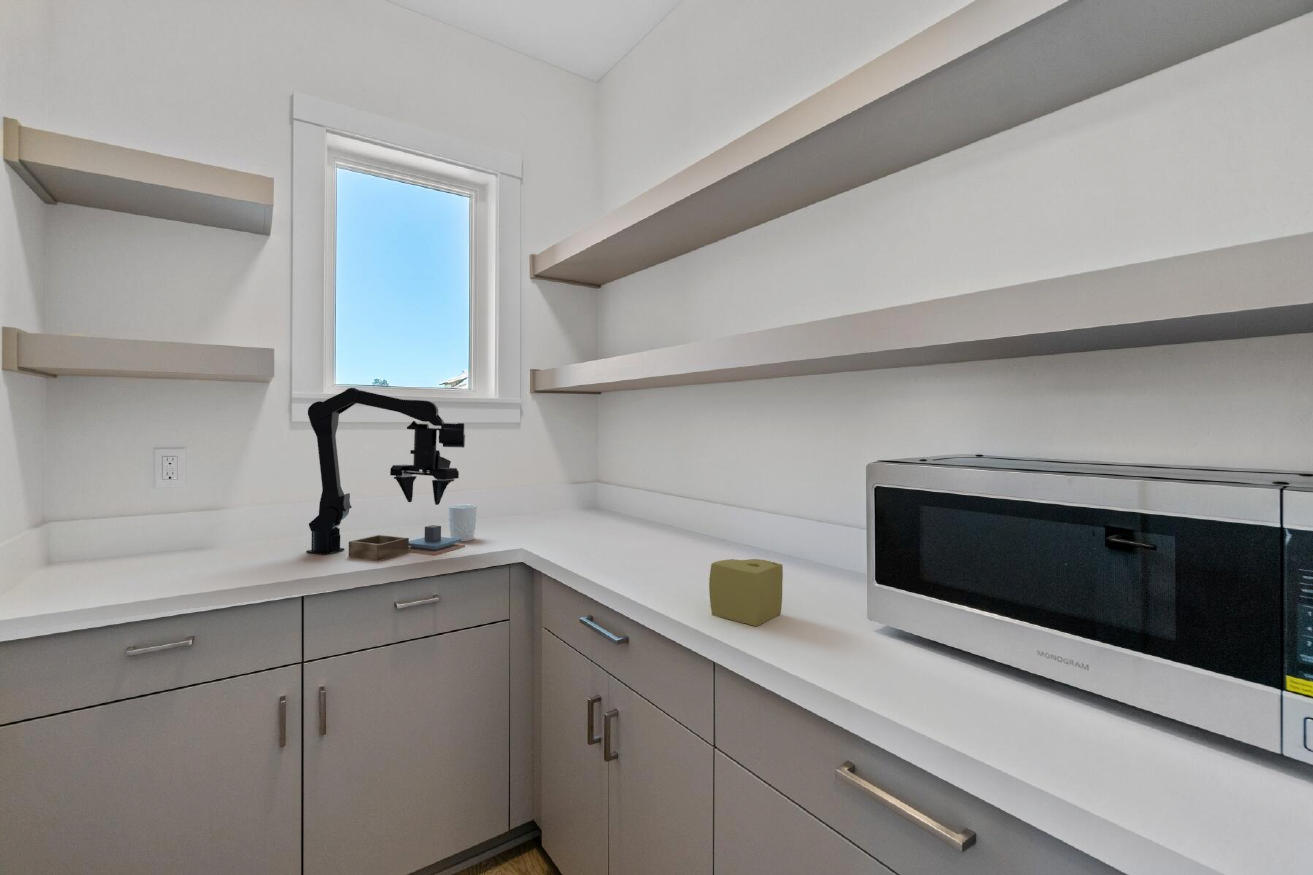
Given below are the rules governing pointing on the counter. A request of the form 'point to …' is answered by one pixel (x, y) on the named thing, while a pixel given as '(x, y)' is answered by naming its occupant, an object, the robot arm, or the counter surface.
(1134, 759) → the counter surface
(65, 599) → the counter surface
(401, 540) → the box
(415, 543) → the lid
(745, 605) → the cheese
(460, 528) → the white cup
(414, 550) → the mat
